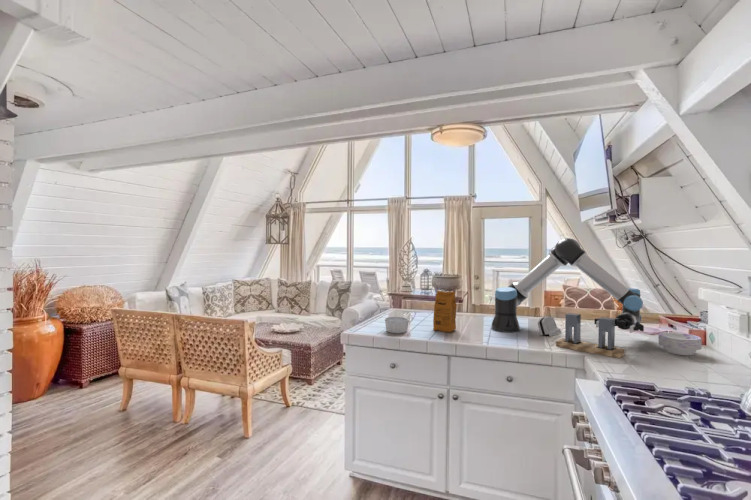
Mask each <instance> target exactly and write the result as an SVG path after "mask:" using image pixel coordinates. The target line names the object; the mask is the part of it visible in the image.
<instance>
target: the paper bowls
mask: <svg viewBox="0 0 751 500" xmlns="http://www.w3.org/2000/svg"><path fill="white" fill-rule="evenodd" d="M657 337H658V339H657V340H658V345H660V346H662V348H663V349H664V350H665V352H667V353H670V354H673V355H678V356H693V355H695V354H696V352H697V351H700V350H702V348H703V346H702V345H703V344H702V341H703V339H702V337H700V336H698V335H695V334H691V333H690V334H689V333H684V332H673V331H669V332H668V331H667V332H665V331H664V332H659V333H658V335H657Z"/></svg>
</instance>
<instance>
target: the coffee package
mask: <svg viewBox="0 0 751 500" xmlns="http://www.w3.org/2000/svg"><path fill="white" fill-rule="evenodd" d="M456 300H457V299H456V292H455V291H442V290H437V291H436V295H435V300H434V301H435V302H434V305H433V308H434V309H433V322H432V325H433V328H432V329H433V331H439V332H441V333H442V332H444V333H452V332H454V331H455V330H456V329H457V324H456V323H457V321H456V319H457V302H456Z"/></svg>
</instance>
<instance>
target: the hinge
mask: <svg viewBox="0 0 751 500" xmlns="http://www.w3.org/2000/svg"><path fill="white" fill-rule="evenodd" d="M537 327H538V330H539V334H540V336H543V335H544V336H546V335H548V336H549V338H551V337H553V336H555V335H558V334H559V333H561V332H562V331H561V328H559V327H558V325H557V323H556V321H555V318H554V316H553V317H552V316H544V317H541V318H539V319H538V321H537Z"/></svg>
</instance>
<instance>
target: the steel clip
mask: <svg viewBox="0 0 751 500" xmlns="http://www.w3.org/2000/svg"><path fill="white" fill-rule="evenodd" d="M598 319H599V327H598V336H597V337H598V341H597V344H598V348H600V349H604V348H605V346H606V336H607V346H608V350H611V351H613V350H614V347H615V341H616V340H615V337H616V334H615V331H616V326H615V319H616V318H614V317H613V318H612V317H605V316H601V317H599V318H598ZM606 333H607V335H606Z"/></svg>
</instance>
